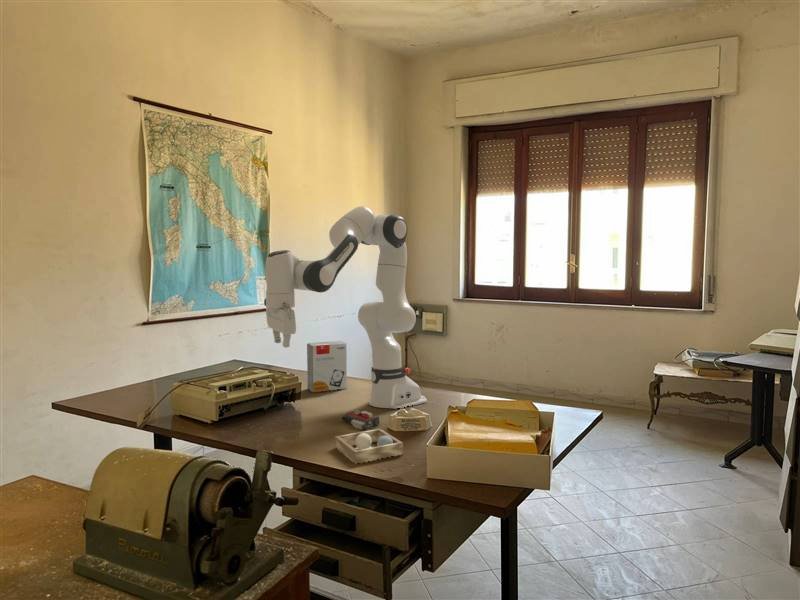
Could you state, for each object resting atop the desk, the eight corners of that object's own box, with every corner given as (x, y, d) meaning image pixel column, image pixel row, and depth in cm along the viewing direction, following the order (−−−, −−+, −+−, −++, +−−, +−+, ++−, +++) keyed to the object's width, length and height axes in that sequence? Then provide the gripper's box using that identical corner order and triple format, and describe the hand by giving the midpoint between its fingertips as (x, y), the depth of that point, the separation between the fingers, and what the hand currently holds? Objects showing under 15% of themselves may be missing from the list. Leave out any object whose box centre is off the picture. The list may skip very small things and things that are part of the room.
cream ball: (367, 446, 170) (367, 430, 170) (374, 450, 166) (374, 433, 166) (353, 449, 168) (352, 433, 168) (359, 452, 164) (359, 436, 164)
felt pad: (369, 445, 171) (369, 444, 171) (377, 452, 166) (377, 451, 166) (350, 449, 168) (350, 448, 168) (358, 455, 163) (358, 454, 163)
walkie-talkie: (336, 423, 194) (377, 436, 181) (336, 410, 194) (377, 422, 180) (355, 417, 201) (396, 429, 187) (355, 405, 200) (396, 416, 187)
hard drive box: (312, 393, 234) (310, 345, 232) (307, 389, 241) (305, 343, 239) (347, 388, 240) (346, 342, 239) (341, 385, 247) (340, 340, 246)
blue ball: (388, 447, 169) (388, 432, 168) (396, 453, 165) (396, 437, 164) (374, 450, 167) (374, 435, 166) (381, 455, 162) (381, 439, 162)
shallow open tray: (380, 439, 177) (380, 428, 176) (403, 454, 163) (402, 442, 163) (335, 447, 170) (335, 436, 169) (355, 464, 156) (355, 452, 156)
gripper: (300, 303, 171) (301, 348, 173) (281, 299, 189) (282, 339, 191) (280, 305, 169) (281, 350, 170) (262, 300, 187) (263, 341, 188)
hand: (281, 344), depth 180 cm, fingers open, 8 cm apart
